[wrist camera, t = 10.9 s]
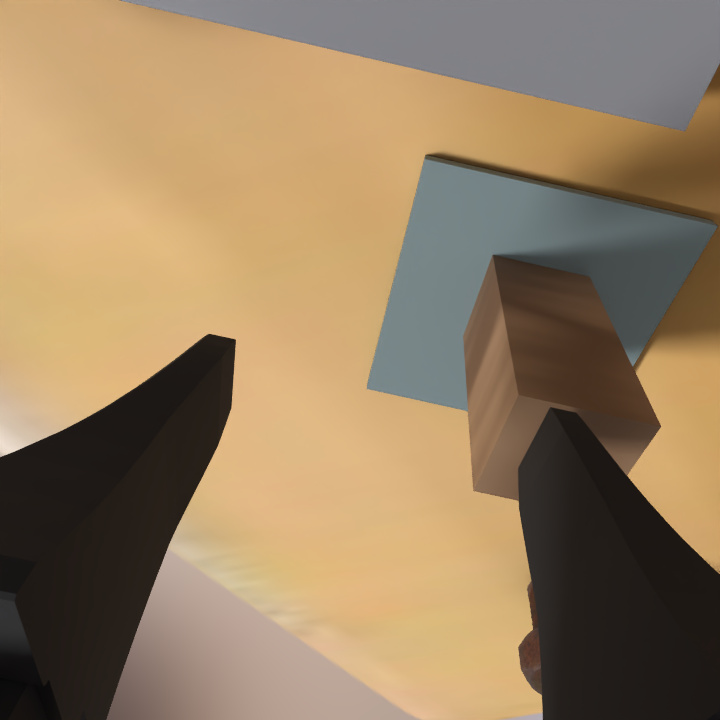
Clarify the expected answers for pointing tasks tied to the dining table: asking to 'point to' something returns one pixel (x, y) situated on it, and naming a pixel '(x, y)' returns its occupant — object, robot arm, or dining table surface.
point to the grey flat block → (513, 44)
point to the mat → (523, 243)
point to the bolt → (531, 649)
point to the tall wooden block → (545, 371)
